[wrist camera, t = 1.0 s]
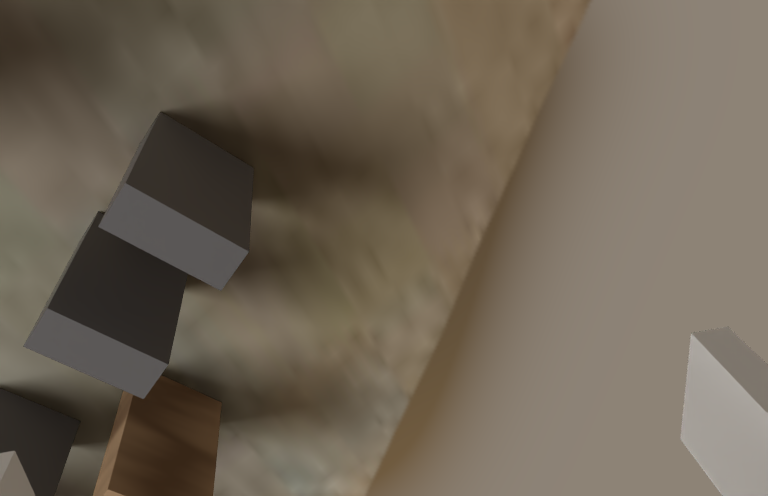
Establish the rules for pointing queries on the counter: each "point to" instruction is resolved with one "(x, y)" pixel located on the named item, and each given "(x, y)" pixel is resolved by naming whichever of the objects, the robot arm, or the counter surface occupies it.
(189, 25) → the counter surface
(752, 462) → the robot arm
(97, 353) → the domino
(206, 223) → the domino
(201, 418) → the walnut domino
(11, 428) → the domino
